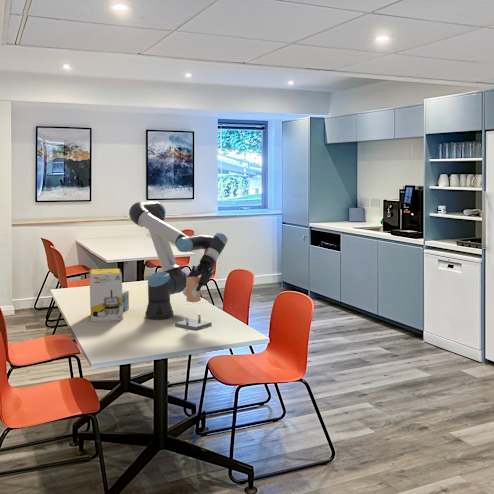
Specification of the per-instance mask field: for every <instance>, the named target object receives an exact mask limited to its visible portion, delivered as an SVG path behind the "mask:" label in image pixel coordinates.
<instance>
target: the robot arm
mask: <svg viewBox="0 0 494 494" xmlns="http://www.w3.org/2000/svg"><path fill="white" fill-rule="evenodd" d="M128 215H129V219H130V220H131V221H132V222H133V223H134V224H135V225H137V226H138V227H140V228H145V229H146V230H148V232H149V235H150V237H151V240H152V243H153V246H154V249H155V252H156V256H157V258H158V261H159V264H160V266H161V269H162V270H161V271H158V272H153V273H151V274H150V275H148V277H147V278H148V279H147V296H148V297H147V299H148V302H147V306H146V309H145V310H146V311H145V313H144V314H145V318H146V319H149V320H166V319H170V318H173V317H174V314H175V313H174V310H173V307H172V303H171V295H174V294H180V293H182V294H183V295H184V296H185V297H187V288H186V278H189V277H199V276H200V281H199V282H198V283H199V284H196V286H195V288H194V290H193V291H192V293H191V295H192V296H193V297H195V296H196V294H197V292H198V291H199V290H200V289H201V290H202V287H206V286H207V284H208V283H209V280H211V278H212V275H213V274H214V273H215V269H214V267H215V264H216V263H217V260H218V259H219V257H220V255H221V254H222V252H223V250H224V249H225V247H226V246H227V243H228V237H227V236H226V235H225V234H224V233H222V232H216V233H215V234H214V236H213V235H206V234H201V233H196V234H193V235H192V236H189V235H187V234H186V233H184V232H182V231H180V230H179V229H177V228H176V227H173V226H172V225H170V224H168V223H166V222H165V221H166V220H165V217H166V209H165V206H164V205H163V204H162V203H161V202H159V201H153V200H151V201H138V202H135V203H133V204H132V205H131V207H130V208H129V212H128ZM170 243H171V244H173V245H174V246H175V247H176V249H177V250H178V251H179V252H181V253H188V252H192V251H193V252H194V251H198V250H205V251H204V253H203V255H202V256H201V258H200V259H199V264H198V265H197V266H196V265H192V267H191V270H190V272H188V273H187V272H185V270H184V271H183V269H182V267H181V266H180V265H178V264H177V261H176V258H175V256H174V255H175V254H174V252H173V250H172V247H171V244H170Z"/></svg>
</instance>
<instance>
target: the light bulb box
mask: <svg viewBox="0 0 494 494" xmlns="http://www.w3.org/2000/svg"><path fill="white" fill-rule="evenodd" d="M129 293H130V292H129V290H124V289H122V305H123V313H124V312H126V311H128V310H129V309H130V303H129V301H130V297H129Z"/></svg>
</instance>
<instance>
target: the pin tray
mask: <svg viewBox="0 0 494 494" xmlns="http://www.w3.org/2000/svg"><path fill="white" fill-rule="evenodd" d="M197 315H198V316H197V319H196V318H189V317H187V316H186V317H185V319H184V320H180V321H177V322H175V324H174V325H175V327H179V328H184V329H190V330H195V331H197V330H200V329H204V328H207V327H210V326H212V323H213V322H211V321H207V320H201V313H198V314H197Z"/></svg>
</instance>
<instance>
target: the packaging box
mask: <svg viewBox="0 0 494 494" xmlns="http://www.w3.org/2000/svg"><path fill="white" fill-rule="evenodd" d="M122 274H123V273H122V271H121V268H99V269H89V271H88V275H89V306H90V321H91V322H104V321H119V320H120V321H121V320H124V316H123V313H124V312H123V305H122V290H123V275H122Z"/></svg>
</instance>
